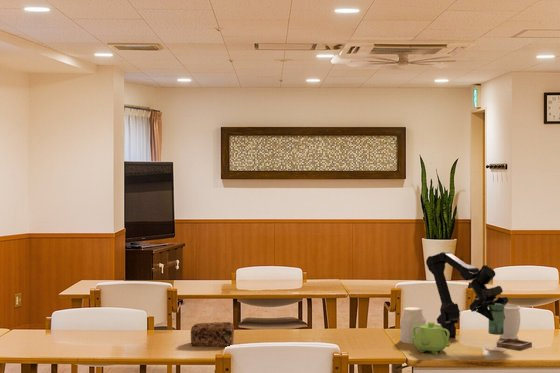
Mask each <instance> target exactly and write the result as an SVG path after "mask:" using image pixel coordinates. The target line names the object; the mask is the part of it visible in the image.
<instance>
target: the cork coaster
mask: <svg viewBox="0 0 560 373" xmlns="http://www.w3.org/2000/svg"><path fill="white" fill-rule="evenodd" d="M484 350H485V351H488V352H492V353H493V352H494V353H495V352H496V353H502V352H506V351H507V348H504V347H498V346H495V347H494V346H493V347H492V346H491V347H485V348H484Z"/></svg>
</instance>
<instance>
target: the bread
mask: <svg viewBox="0 0 560 373" xmlns="http://www.w3.org/2000/svg"><path fill="white" fill-rule="evenodd" d="M234 333H235V327H234V323H232V322H230V321H226V322H225V321H221V322H217V321H215V322H214V321H213V322H203V323H202V322H201V323H195V324H193V325H192V326H191V329H190V344H191V346H192V347H199V348H200V347H212V348H213V347H220V348H221V347H229V346H228V345H232V346H233V344H234V337H235V334H234Z"/></svg>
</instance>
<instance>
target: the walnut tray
mask: <svg viewBox="0 0 560 373" xmlns="http://www.w3.org/2000/svg"><path fill="white" fill-rule="evenodd" d="M532 346H533V342H532V341H525V340H521V339H520V340H519V339H503V340H500V341H498V342H496V347H498V348H504V349H512V350H516V351H521V350H524V349H528V348H530V347H531V348H532Z"/></svg>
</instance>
